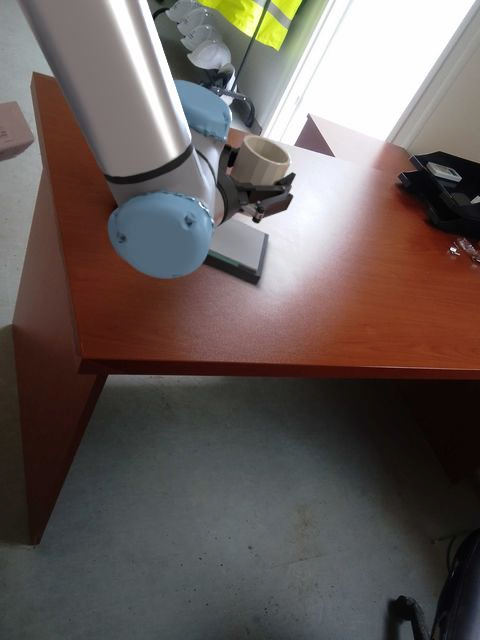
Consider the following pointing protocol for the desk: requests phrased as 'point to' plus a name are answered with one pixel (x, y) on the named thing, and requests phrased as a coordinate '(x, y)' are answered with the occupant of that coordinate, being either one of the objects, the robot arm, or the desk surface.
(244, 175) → the beige faceted cup
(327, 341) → the desk surface
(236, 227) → the kitchen scale
